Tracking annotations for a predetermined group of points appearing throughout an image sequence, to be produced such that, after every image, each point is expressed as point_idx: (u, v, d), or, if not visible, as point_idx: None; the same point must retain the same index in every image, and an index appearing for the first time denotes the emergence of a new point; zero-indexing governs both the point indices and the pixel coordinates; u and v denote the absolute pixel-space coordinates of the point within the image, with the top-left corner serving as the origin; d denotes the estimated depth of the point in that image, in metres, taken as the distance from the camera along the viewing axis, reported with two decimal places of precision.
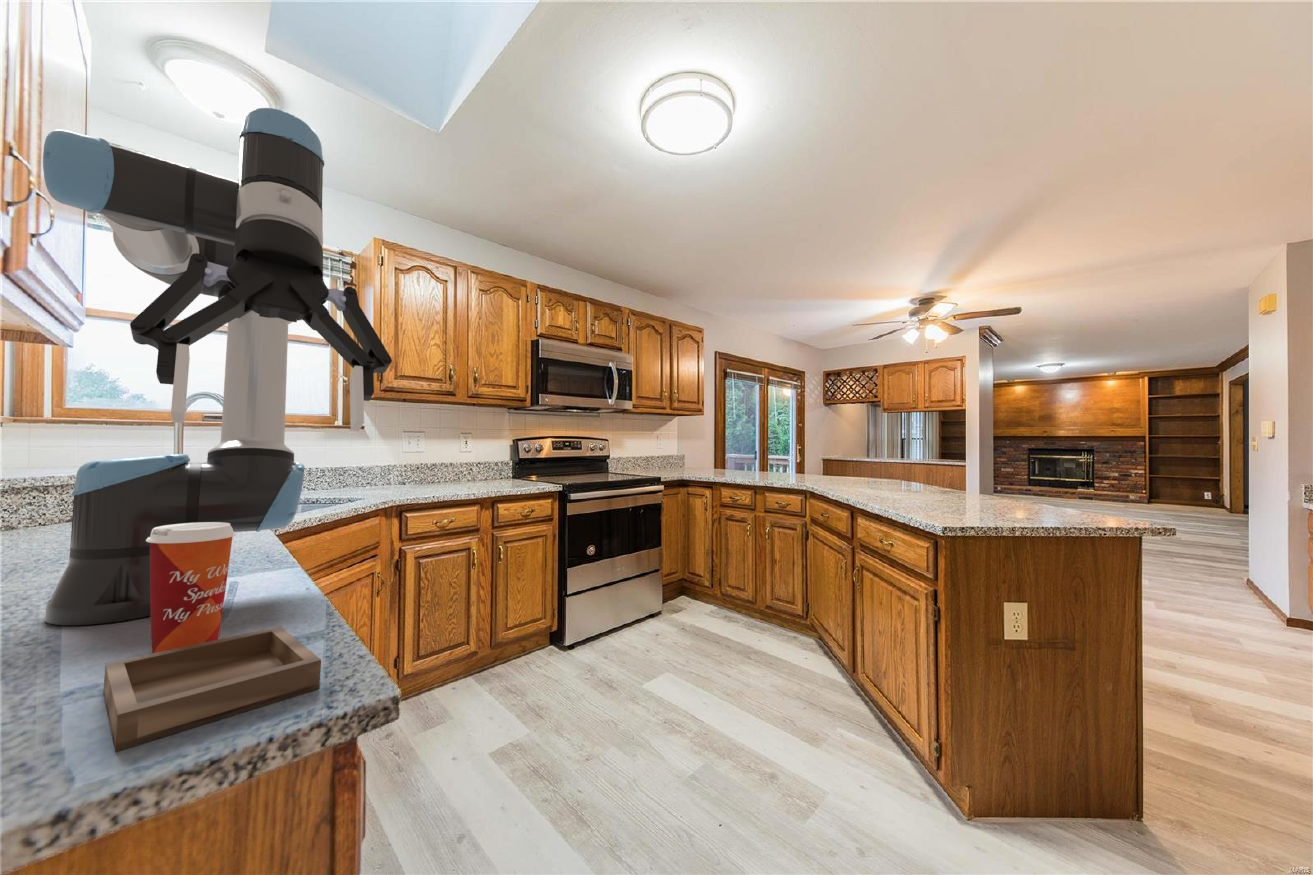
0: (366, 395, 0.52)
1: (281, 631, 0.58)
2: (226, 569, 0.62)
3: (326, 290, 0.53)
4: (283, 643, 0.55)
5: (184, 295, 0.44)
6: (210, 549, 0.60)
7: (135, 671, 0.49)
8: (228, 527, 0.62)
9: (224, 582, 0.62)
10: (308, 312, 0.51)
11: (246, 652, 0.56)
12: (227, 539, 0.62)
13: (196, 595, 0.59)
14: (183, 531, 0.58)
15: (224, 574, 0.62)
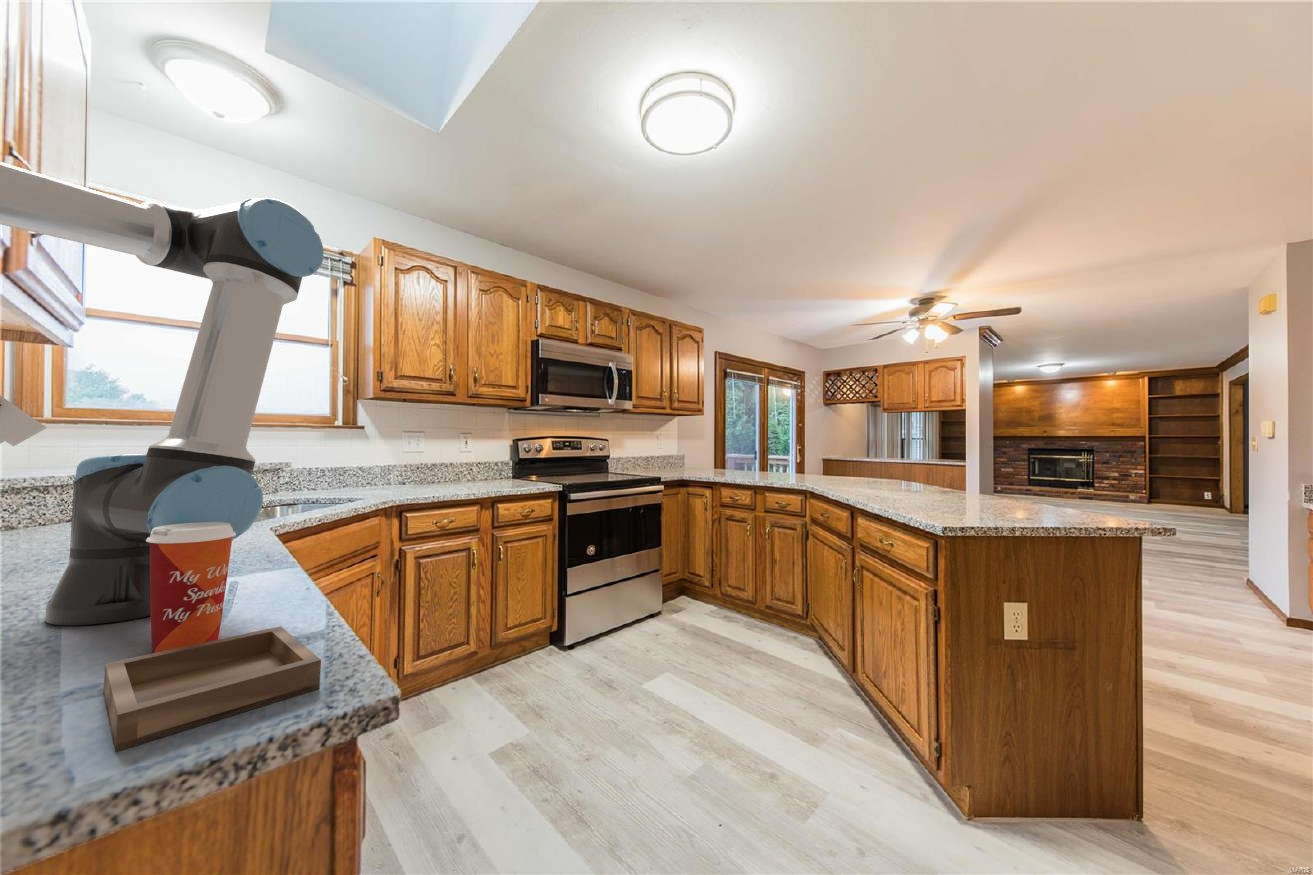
0: None
1: (281, 631, 0.58)
2: (226, 569, 0.62)
3: None
4: (283, 643, 0.55)
5: None
6: (210, 549, 0.60)
7: (135, 671, 0.49)
8: (228, 527, 0.62)
9: (224, 582, 0.62)
10: None
11: (246, 652, 0.56)
12: (227, 539, 0.62)
13: (196, 595, 0.59)
14: (183, 531, 0.58)
15: (224, 574, 0.62)
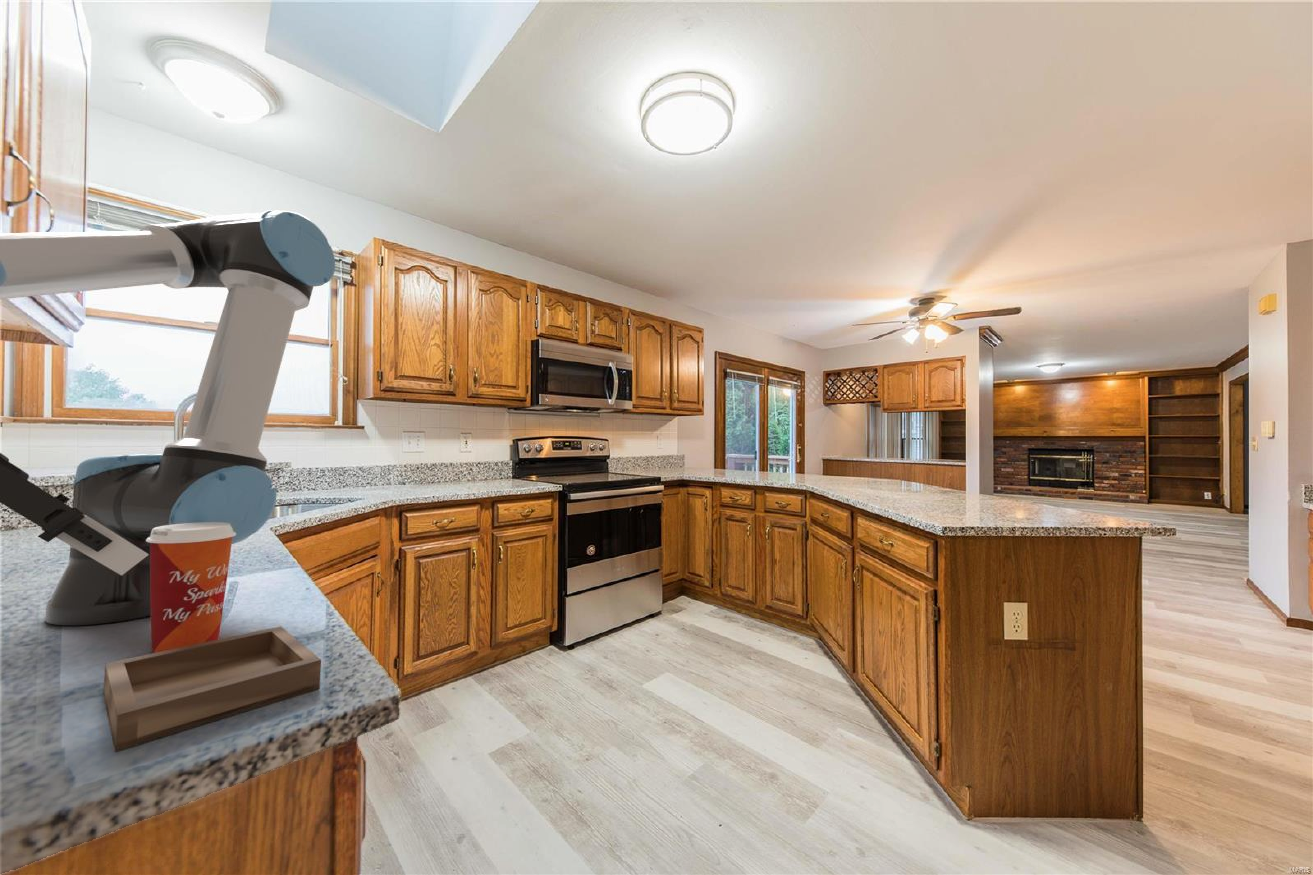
0: (96, 550, 0.49)
1: (281, 631, 0.58)
2: (226, 569, 0.62)
3: None
4: (283, 643, 0.55)
5: None
6: (210, 549, 0.60)
7: (135, 671, 0.49)
8: (228, 527, 0.62)
9: (224, 582, 0.62)
10: None
11: (246, 652, 0.56)
12: (227, 539, 0.62)
13: (196, 595, 0.59)
14: (183, 531, 0.58)
15: (224, 574, 0.62)
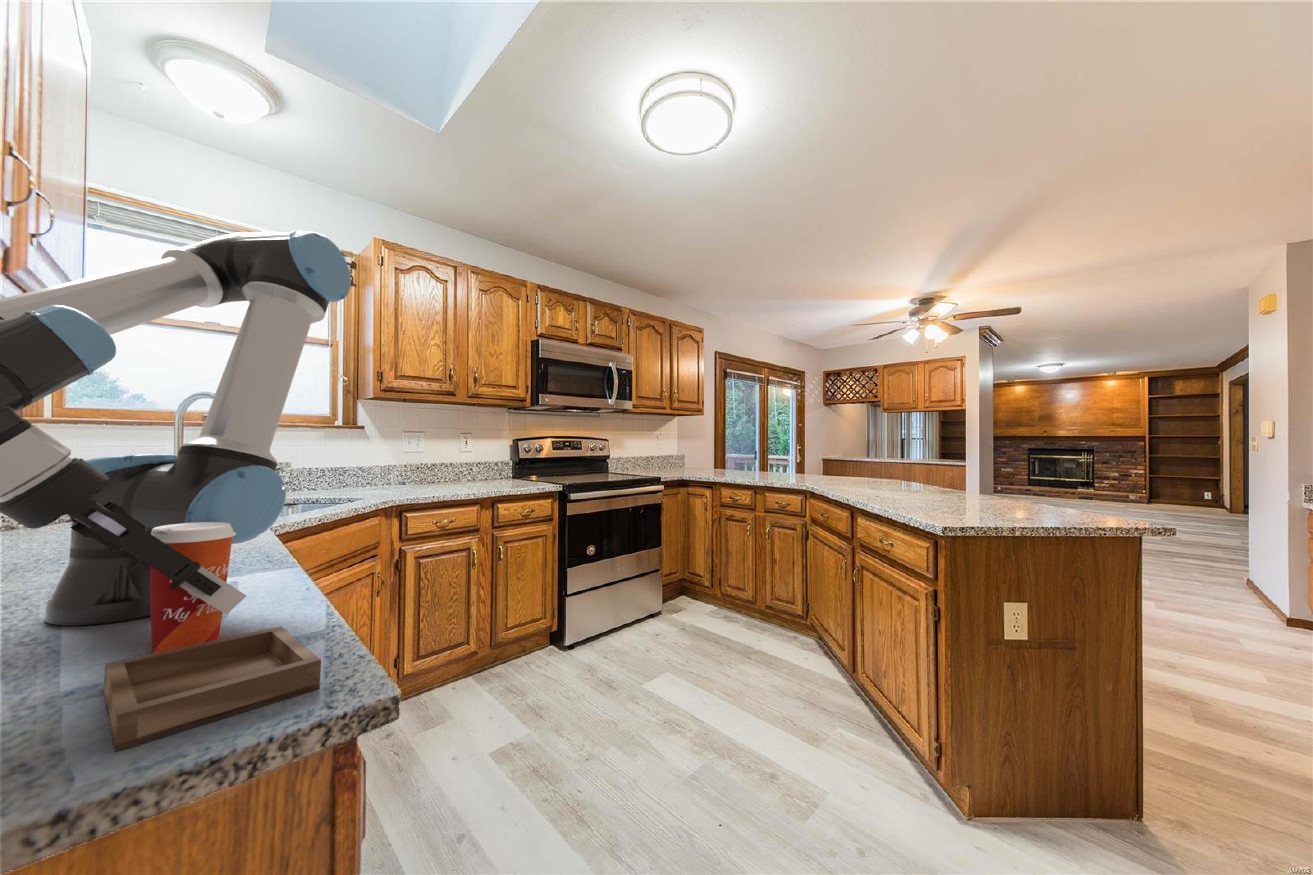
0: None
1: (281, 631, 0.58)
2: (226, 569, 0.62)
3: (91, 527, 0.51)
4: (283, 643, 0.55)
5: None
6: (210, 548, 0.60)
7: (135, 671, 0.49)
8: (228, 527, 0.62)
9: None
10: None
11: (246, 652, 0.56)
12: (227, 539, 0.62)
13: None
14: (183, 531, 0.58)
15: (224, 574, 0.62)
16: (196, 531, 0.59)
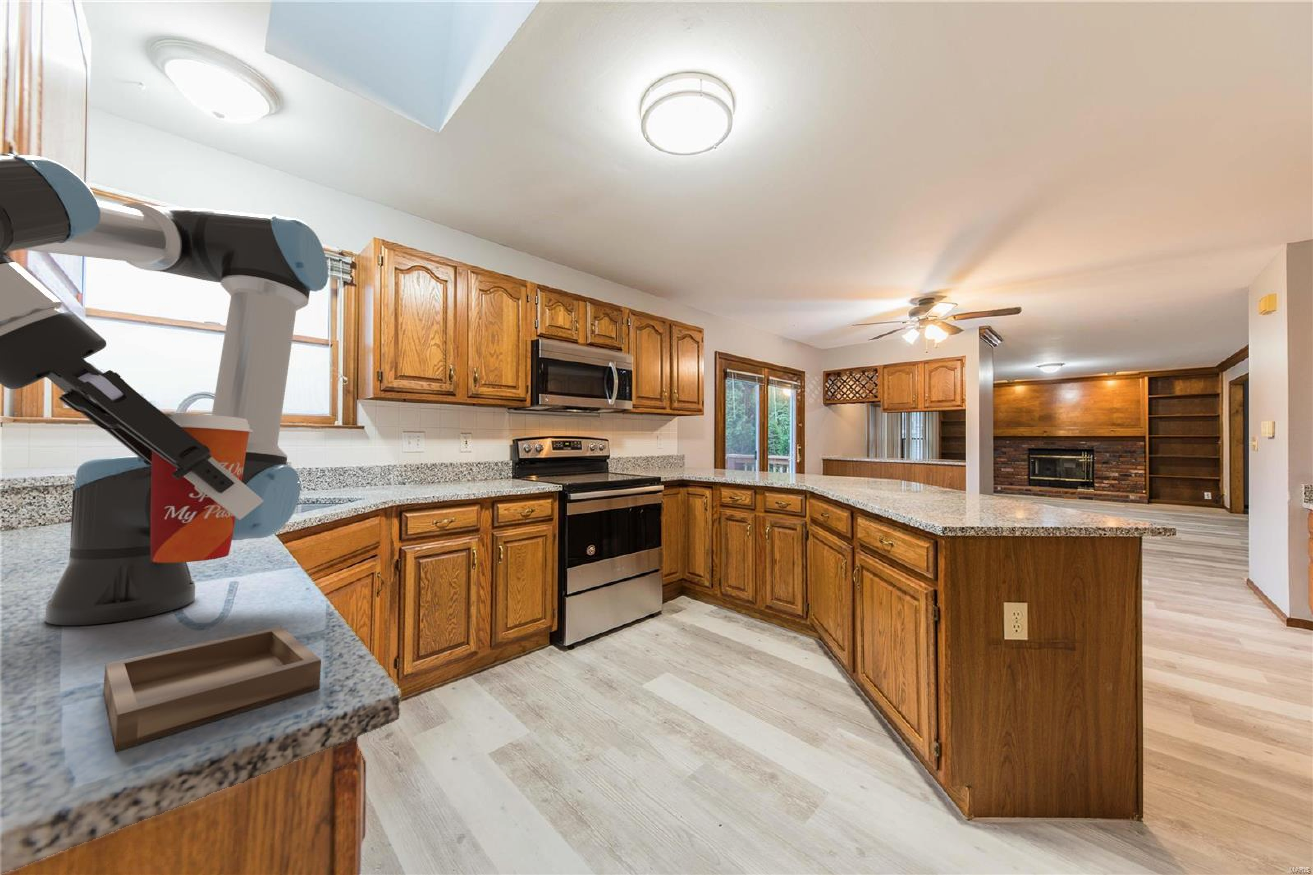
0: (220, 492, 0.49)
1: (281, 631, 0.58)
2: (240, 470, 0.53)
3: None
4: (283, 643, 0.55)
5: (111, 431, 0.50)
6: (222, 439, 0.50)
7: (135, 671, 0.49)
8: (244, 420, 0.53)
9: None
10: None
11: (246, 652, 0.56)
12: (242, 433, 0.52)
13: (204, 493, 0.49)
14: (191, 414, 0.49)
15: (237, 474, 0.52)
16: (206, 416, 0.49)
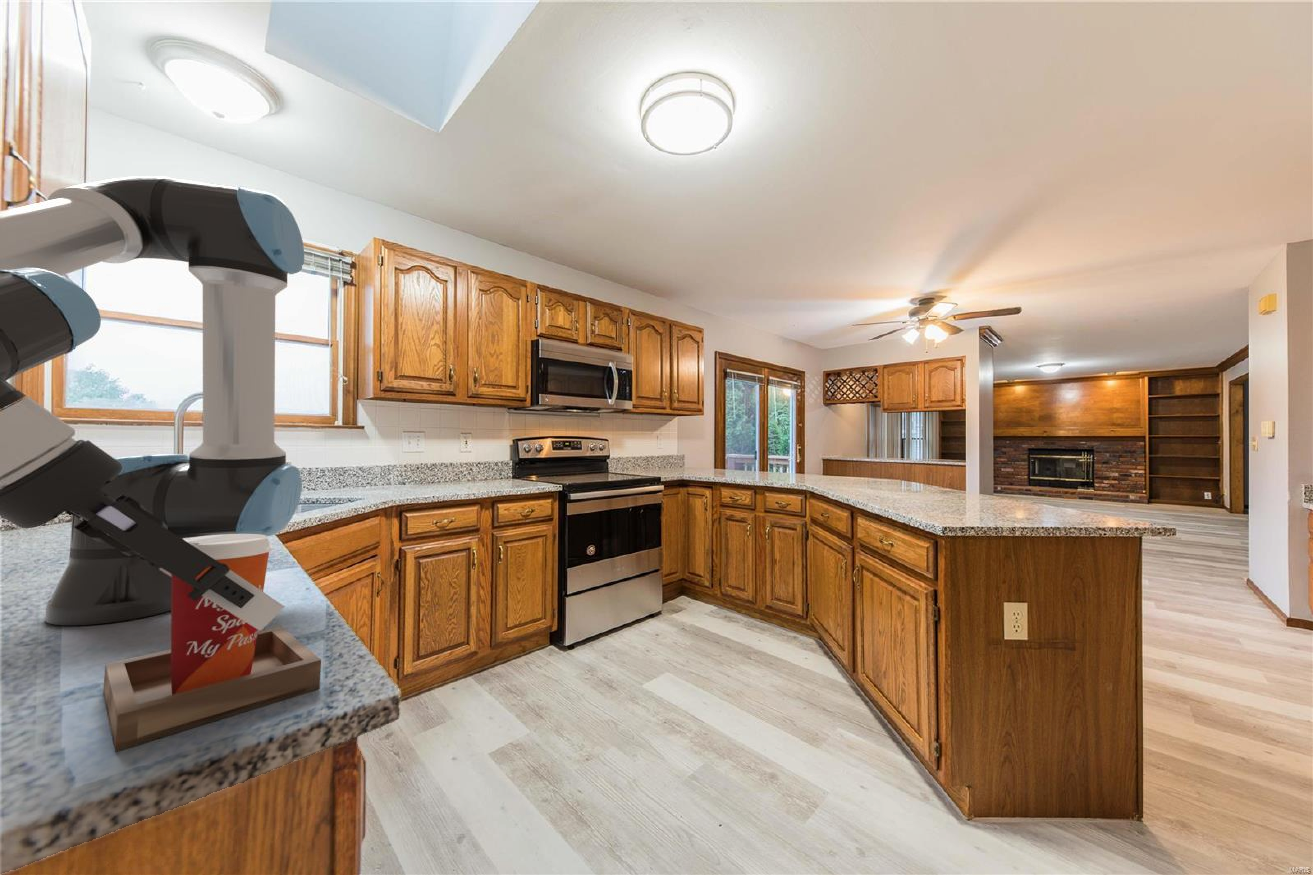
0: None
1: (281, 631, 0.58)
2: None
3: None
4: (283, 643, 0.55)
5: None
6: (244, 567, 0.49)
7: (135, 671, 0.49)
8: (265, 540, 0.51)
9: None
10: None
11: None
12: (264, 555, 0.51)
13: (227, 624, 0.48)
14: (213, 545, 0.47)
15: None
16: (228, 545, 0.48)
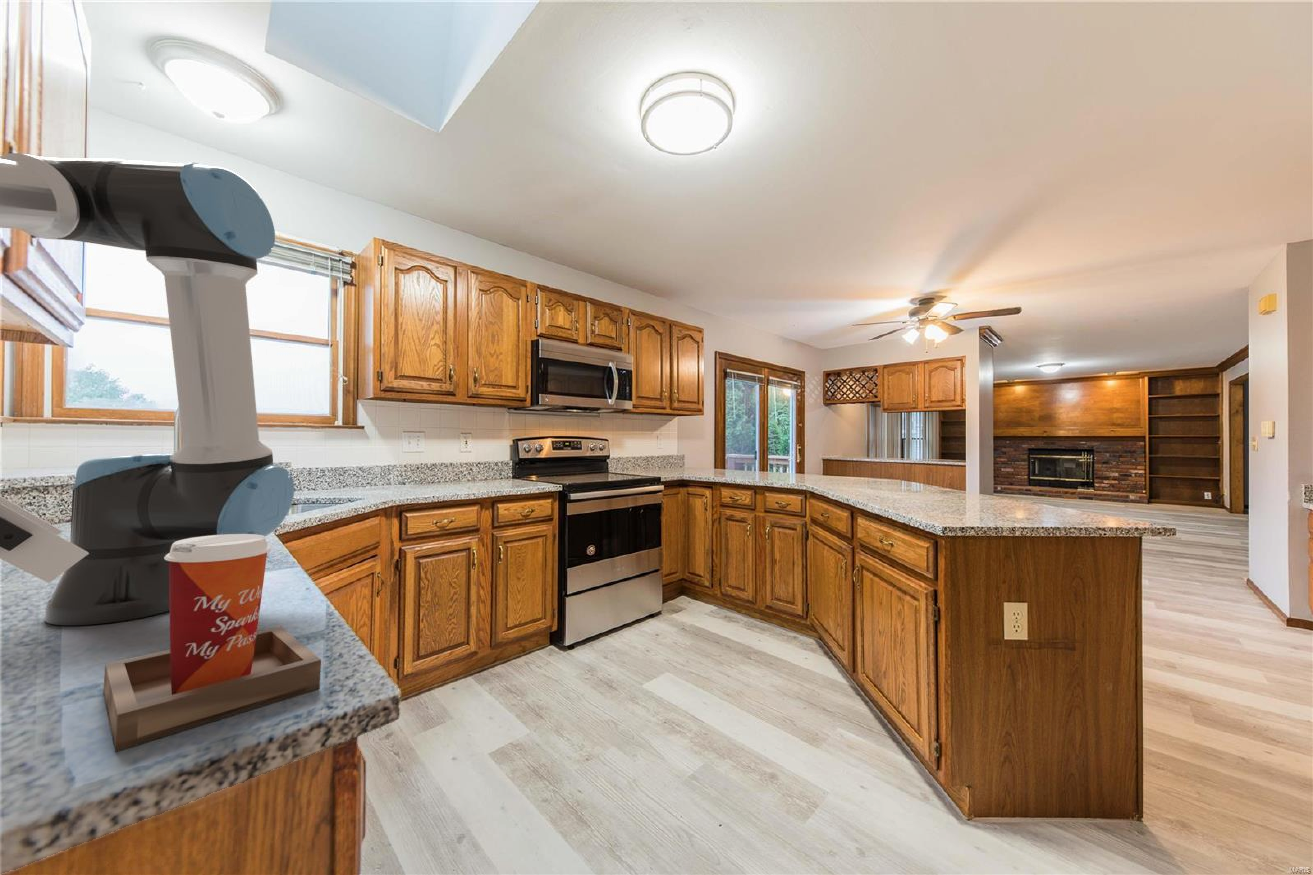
0: None
1: (281, 631, 0.58)
2: (260, 592, 0.51)
3: None
4: (283, 643, 0.55)
5: None
6: (242, 568, 0.49)
7: (135, 671, 0.49)
8: (263, 541, 0.51)
9: (258, 607, 0.51)
10: None
11: None
12: (262, 555, 0.51)
13: (226, 625, 0.48)
14: (211, 547, 0.47)
15: (257, 598, 0.51)
16: (226, 547, 0.48)
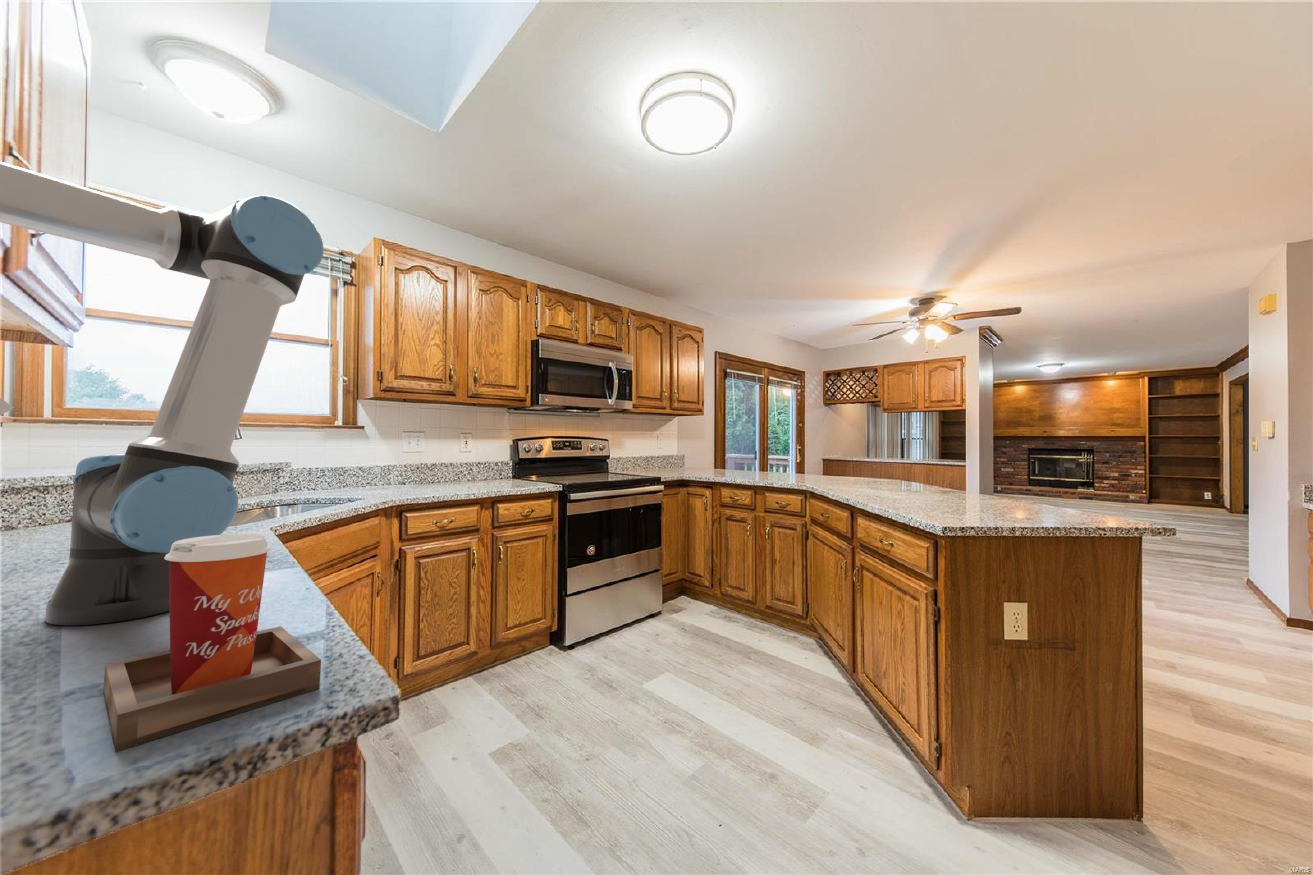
0: None
1: (281, 631, 0.58)
2: (260, 592, 0.51)
3: None
4: (283, 643, 0.55)
5: None
6: (242, 567, 0.49)
7: (135, 671, 0.49)
8: (263, 540, 0.51)
9: (258, 607, 0.51)
10: None
11: None
12: (262, 555, 0.51)
13: (226, 625, 0.48)
14: (211, 546, 0.47)
15: (258, 597, 0.51)
16: (226, 546, 0.48)
